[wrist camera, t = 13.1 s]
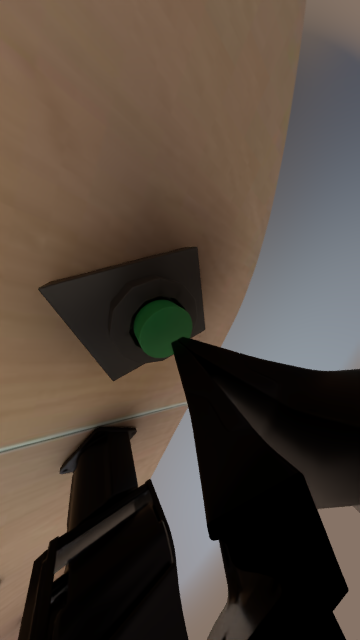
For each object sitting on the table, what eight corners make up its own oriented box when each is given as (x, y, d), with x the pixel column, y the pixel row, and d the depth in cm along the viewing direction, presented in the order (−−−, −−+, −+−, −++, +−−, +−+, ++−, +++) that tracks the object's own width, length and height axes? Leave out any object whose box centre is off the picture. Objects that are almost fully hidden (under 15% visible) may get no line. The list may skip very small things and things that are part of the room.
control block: (183, 247, 12) (212, 244, 9) (195, 322, 17) (216, 337, 14) (48, 282, 9) (21, 296, 6) (111, 365, 13) (115, 398, 10)
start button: (175, 291, 10) (188, 297, 8) (184, 332, 12) (195, 341, 11) (123, 311, 8) (128, 322, 7) (144, 353, 11) (151, 367, 9)
